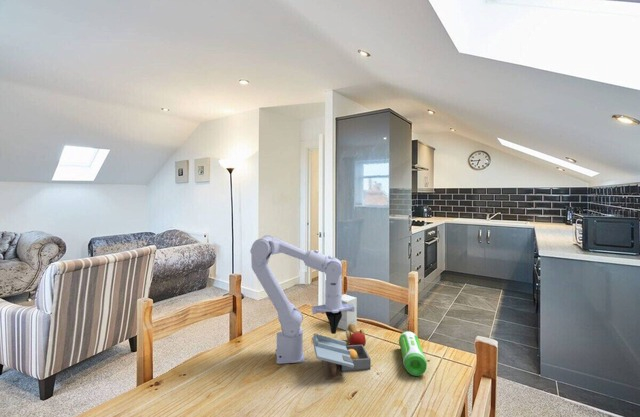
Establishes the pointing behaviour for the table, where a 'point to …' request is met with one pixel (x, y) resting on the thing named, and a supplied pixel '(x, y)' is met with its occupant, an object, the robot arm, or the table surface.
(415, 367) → the speaker
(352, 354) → the ball
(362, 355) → the grey open box
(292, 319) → the robot arm
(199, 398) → the table surface
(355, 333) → the kendama
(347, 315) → the supplement box
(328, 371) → the stand
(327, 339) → the light blue flat piece
